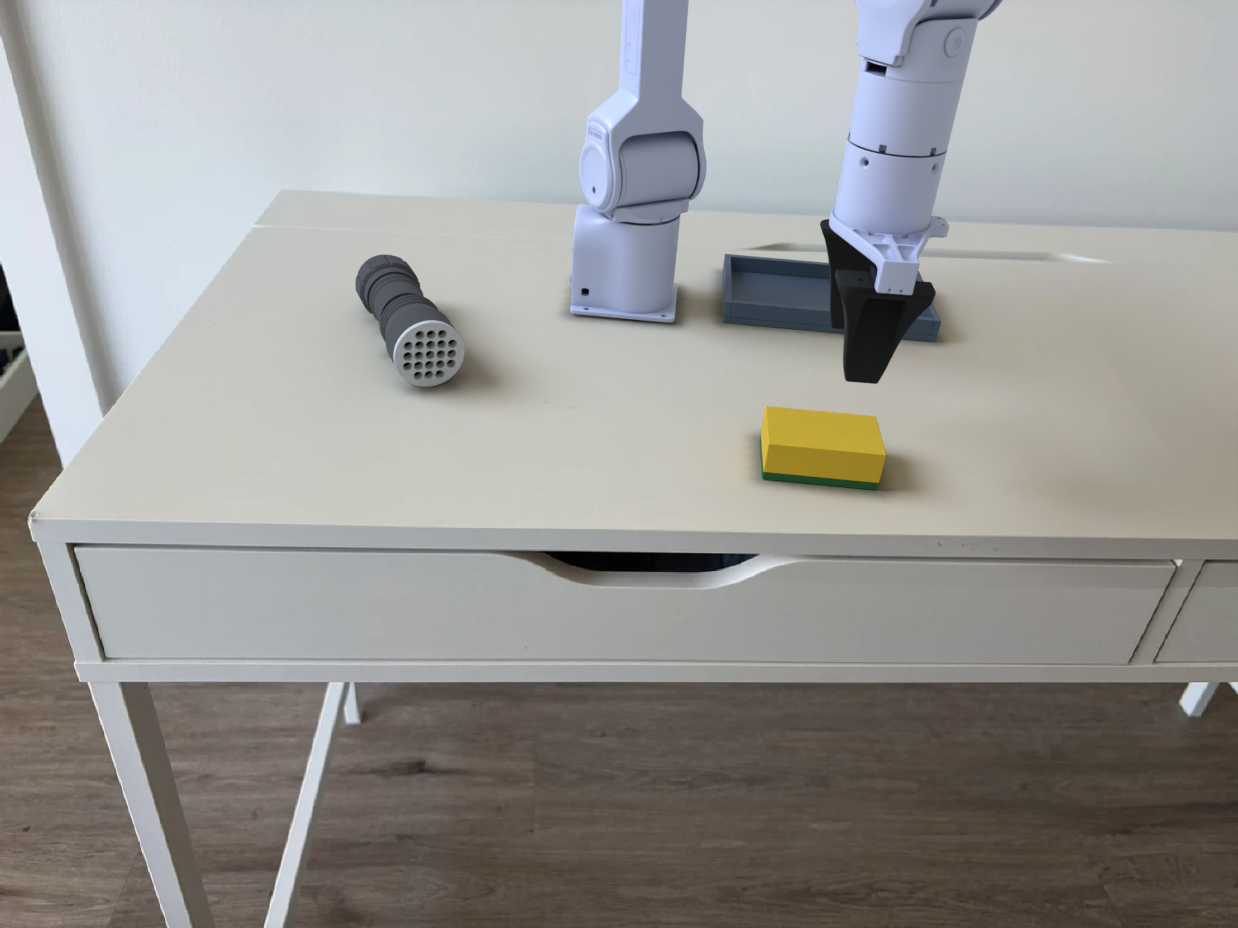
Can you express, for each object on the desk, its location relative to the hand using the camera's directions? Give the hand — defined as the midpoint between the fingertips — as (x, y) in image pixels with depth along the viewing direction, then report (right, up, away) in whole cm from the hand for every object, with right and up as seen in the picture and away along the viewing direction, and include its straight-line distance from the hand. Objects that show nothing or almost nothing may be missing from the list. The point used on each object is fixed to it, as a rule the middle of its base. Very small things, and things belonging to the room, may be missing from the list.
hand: (853, 352), depth 62 cm
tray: (+4, +8, +27) cm, 28 cm away
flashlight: (-33, +2, +16) cm, 37 cm away
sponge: (-1, -7, +5) cm, 9 cm away
